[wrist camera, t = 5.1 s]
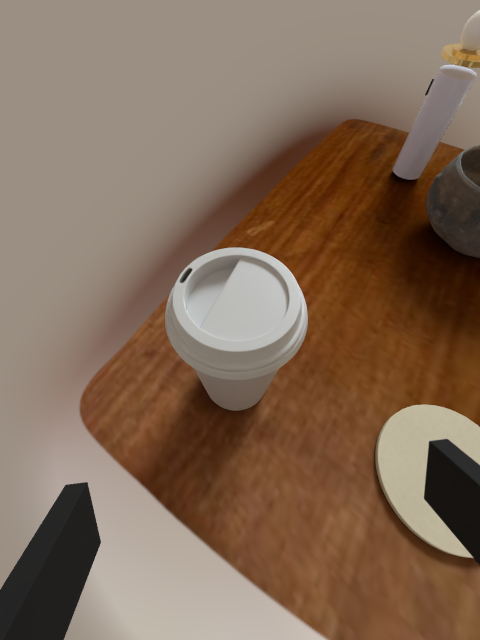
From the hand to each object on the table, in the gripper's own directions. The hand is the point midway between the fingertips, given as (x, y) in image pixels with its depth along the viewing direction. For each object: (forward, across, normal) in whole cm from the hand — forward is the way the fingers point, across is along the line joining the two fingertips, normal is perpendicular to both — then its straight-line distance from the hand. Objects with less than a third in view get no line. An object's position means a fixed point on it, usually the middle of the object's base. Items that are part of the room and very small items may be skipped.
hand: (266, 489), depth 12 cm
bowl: (+32, +34, +8) cm, 47 cm away
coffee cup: (+20, 0, -4) cm, 20 cm away
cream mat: (+12, +18, -12) cm, 24 cm away
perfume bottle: (+43, +32, +19) cm, 56 cm away
